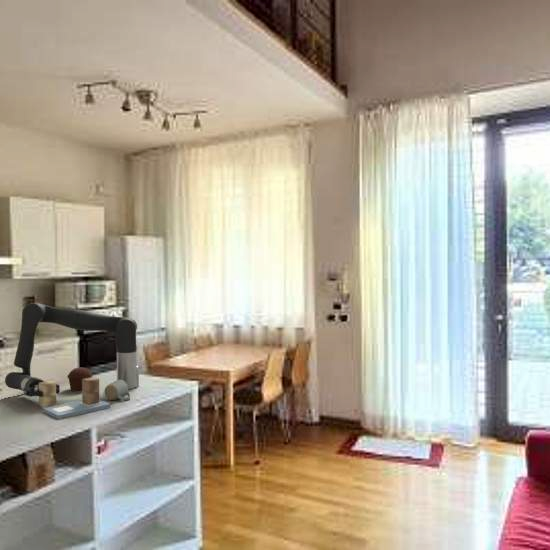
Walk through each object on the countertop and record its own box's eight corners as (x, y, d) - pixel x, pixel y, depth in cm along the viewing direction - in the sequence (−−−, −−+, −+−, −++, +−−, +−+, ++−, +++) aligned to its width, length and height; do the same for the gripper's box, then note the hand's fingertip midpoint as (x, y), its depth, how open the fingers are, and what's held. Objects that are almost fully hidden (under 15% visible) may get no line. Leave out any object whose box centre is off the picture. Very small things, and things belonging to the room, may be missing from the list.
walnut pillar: (93, 400, 227) (93, 377, 226) (99, 402, 223) (99, 379, 223) (82, 402, 223) (82, 379, 223) (88, 405, 220) (87, 381, 219)
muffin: (97, 389, 252) (96, 368, 251) (73, 393, 244) (73, 371, 244) (86, 385, 261) (86, 364, 260) (63, 388, 253) (63, 367, 253)
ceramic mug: (102, 400, 233) (102, 382, 233) (114, 395, 241) (114, 378, 241) (123, 402, 230) (123, 385, 229) (134, 398, 237) (134, 380, 237)
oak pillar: (50, 403, 228) (50, 380, 227) (56, 406, 224) (55, 382, 224) (39, 406, 224) (38, 382, 224) (44, 408, 221) (43, 384, 220)
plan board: (93, 401, 232) (93, 397, 232) (110, 407, 222) (110, 403, 222) (43, 411, 216) (42, 408, 216) (58, 419, 206) (58, 415, 206)
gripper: (15, 380, 228) (32, 387, 217) (49, 374, 239) (66, 380, 227) (16, 397, 229) (32, 405, 217) (49, 391, 239) (66, 398, 228)
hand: (49, 392), depth 222 cm, fingers open, 6 cm apart
